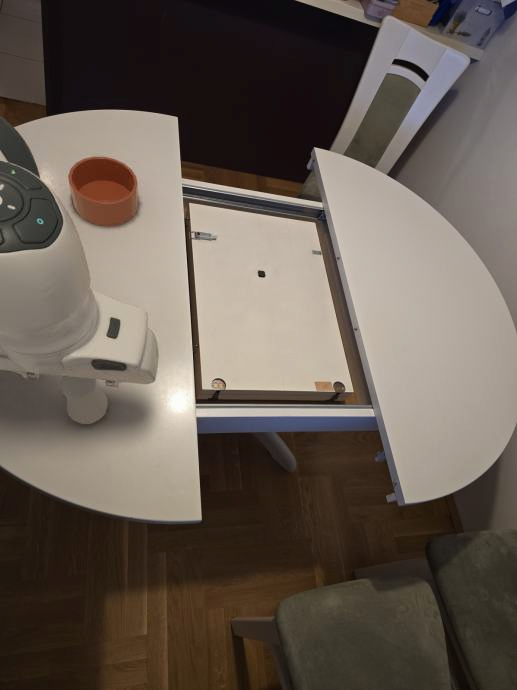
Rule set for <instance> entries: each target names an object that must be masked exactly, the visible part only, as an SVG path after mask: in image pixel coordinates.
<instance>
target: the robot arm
mask: <svg viewBox="0 0 517 690" xmlns="http://www.w3.org/2000/svg"><path fill="white" fill-rule="evenodd" d="M87 260H88V259H87V257H86V252H85V250H84V246H83V243H82V240H81V237H80V233H79V232H78V229H77V227H76V225H75V223H74V221H73V218H72V217H71V215H70V213H69V211H68V210H67V208H66V207H65V205H64V204H63V202H62V200H60V198H59V197H58V195H57V194H56V193H55V191H53V189H52V188H51V187H50V186H49V184H47V183H46V182H45V181H44V180H43V179H41V176H40V172H39V168H38V165H37V162H36V160H35V157H34V155H33V152H32V150H31V149H30V147H29V145H28V144H27V142H26V140H25V139H24V137H23V136H22V135H21V134H20V133H19V131H18V130H17V129H16V128H15V126H13V125H12V124H11V123H10V122H9V121H7V120H6V119H5V118H4V117H3V116H2V115H1V114H0V371H10V372H14V373H16V374H18V375H21V377H22V378H24V379H27V380H28V379H29V380H38V379H40V375H48V376H49V375H50V376H62V377H63V376H69V377H79V378H89V379H96V380H100V381H105V382H104V383H105V386H106V387H112V388H119V387H120V384H121V383H128V384H129V383H130V384H138V385H150V384H153V383H155V382H156V379H157V374H158V366H159V359H160V358H159V357H160V353H159V345H158V341H157V337H156V335H155V333H154V331H153V330H151V328H150V327H148V326H149V325H148V324H149V315H148V311H147V310H146V309H144V308H142V307H139V306H137V305H133V304H129V303H127V302H124V301H121V300H118V299H115V298H113V297H110V296H108V295H106V294H103V293H102V292H99V291H98V290H95V289H93V288H92V287H91V274H90V269H89V263H88V261H87Z"/></svg>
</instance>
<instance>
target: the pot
mask: <svg viewBox="0 0 517 690" xmlns="http://www.w3.org/2000/svg"><path fill="white" fill-rule="evenodd" d="M67 178H68V185H69V189H70V193H71V199H72V202H73V203H72V204H73V207H74V209H75V211H76V212H77V214H78V215H79V216H80V217H81V218H82V219H84V220H86V221H87V222H89V223H91V224H92V225H93V224H94V225H97V226H102V227H116V226H120V225H123V224H126V223H127V222H129V221H130V220H132V219H133V218H134V217H135V215H136V213H137V211H138V205H139V191H138V190H139V189H138V187H139V186H138V185H139V183H138V179H137V175H136V174H135V172H134V171H133V169H132V168H131V167H129V166H128V165H127V164H126V163H124V162H122V161H120V160H118V159H115V158H113V157H108V156H90V157H86V158H83V159H81V160H79V161H77V162H75V164H73V166H71V168H70V170H69V173H68V176H67Z"/></svg>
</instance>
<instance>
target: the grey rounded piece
mask: <svg viewBox="0 0 517 690" xmlns="http://www.w3.org/2000/svg"><path fill="white" fill-rule="evenodd" d="M60 389H61V391H62V393H63V395H65V397H66V413H67V415H68V416H69V417H70V420H71V421H74V422H76V423H79V424H82V425H90V424H91V425H92V424H93V423H96V422H98V421H100V419H102V418H103V417H104V416H105V414H106V413H107V409H108V406H109V403H108V397H107V395H106V394H105V393H104V391H103V390H102V389H100V387H98V383H97V379H89V378H79V377H69V376H62V377H61V380H60Z"/></svg>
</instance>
